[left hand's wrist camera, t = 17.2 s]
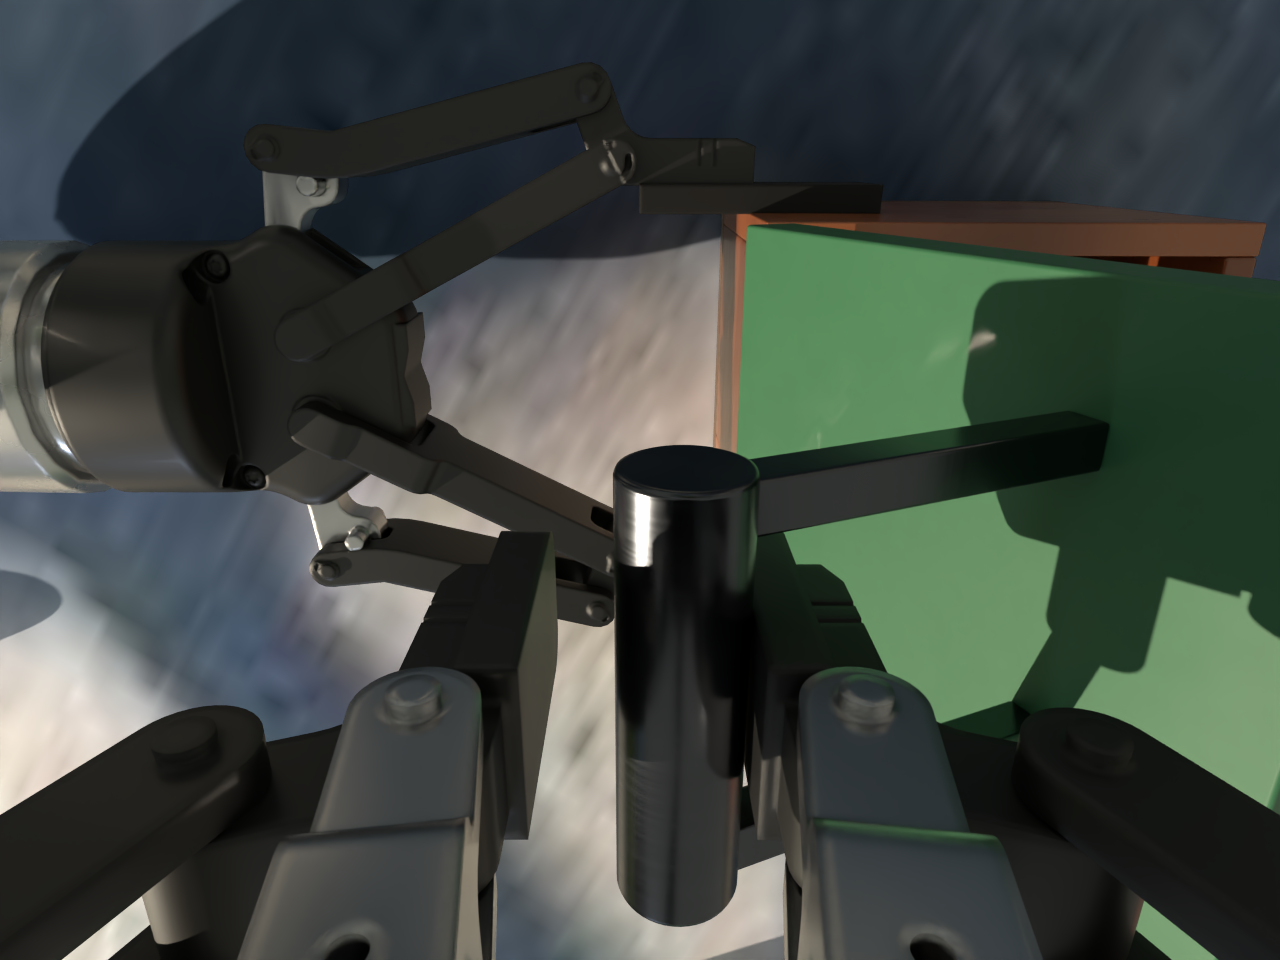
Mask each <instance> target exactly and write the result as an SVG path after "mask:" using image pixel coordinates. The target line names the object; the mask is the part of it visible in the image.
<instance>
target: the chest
mask: <svg viewBox="0 0 1280 960" xmlns="http://www.w3.org/2000/svg"><path fill="white" fill-rule="evenodd" d="M788 223H795V224H804V225H812V226H820V227H829V228H837V229H846V230H854V231H862V232H871V233H879V234H888V235H896V236H905V237H913V238H921V239H930V240H938V241H947V242H955V243H963V244H972V245H980V246H989V247H997V248H1005V249H1014V250H1022V251H1031V252H1039V253H1047V254H1056V255H1064V256H1073V257H1081V258H1089V259H1098V260H1106V261H1115V262H1123V263H1131V264H1140V265H1148V266H1157V267H1165V268H1173V269H1182V270H1190V271H1199V272H1207V273H1215V274H1224V275H1232V276H1241V277H1249V278H1252V275H1253V271H1254V268H1255V264H1256V258H1255V257H1256V256H1258V255H1259V252H1260V248H1261V244H1262V240H1263V236H1264V232H1265V229H1266V223H1261V222H1251V221H1241V220H1231V219H1221V218H1211V217H1202V216H1192V215H1182V214H1172V213H1162V212H1152V211H1142V210H1132V209H1122V208H1112V207H1102V206H1092V205H1083V204H1073V203H1064V202H1057V201H881V211H880V214H828V213H751V214H722V220H721V247H720V275H719V302H718V330H717V358H716V385H715V413H714V440H713V448H718V449H723V450H727V451H731V452H734V453H736V451H737V430H738V408H739V387H740V366H741V344H742V323H743V302H744V280H745V259H746V238H747V227H748V226H749V225H756V224H788Z"/></svg>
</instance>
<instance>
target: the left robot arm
mask: <svg viewBox="0 0 1280 960" xmlns="http://www.w3.org/2000/svg"><path fill="white" fill-rule="evenodd" d="M431 602H432V604H431V606H429V608H428V610H427V612H426V614H425V616H424V622H423V623H421V625H420V627H419V629H418V631H417V633H416V635H415V638H414V640H413V642H412V644H411V646H410V648H409V650H408V652H407V655H406V657H405V659H404V661H403V663H402V665H401V667H400V669H399V671H397V672H394V673H391V674H388V675H386V676H383V677H381V678H379V679H377V680H375V681H373V682H371V683H370V684H368V685H367V686H366V687H364V688H363V689H361V690H360V691H359V692H358V693H357V694H356V695H355V696H354V698H353V699H352V701H351V702H350V704H349V706H348V708H347V711H346V714H345V718H344V721H343V724H341V725H338V726H335V727H333V728H330V729H326V730H322V731H318V732H314V733H309V734H304V735H299V736H294V737H289V738H285V739H280V740H275V741H270V742H266V739H265V734H264V729H263V725H262V722H261V721H260V719H259V718H258V717H257V716H256V715H255V714H254V713H252V712H250V711H248V710H246V709H243V708H239V707H235V706H227V705H214V706H203V707H198V708H192V709H188V710H184V711H180V712H177V713H174V714H171V715H169V716H166V717H163V718H161V719H159V720H157V721H154V722H152V723H150V724H148V725H147V726H145V727H143V728H141V729H140V730H138V731H136V732H135V733H133V734H131V735H130V736H128V737H127V738H125V739H123V740H122V741H120V742H118V743H117V744H115V745H114V746H112V747H110V748H109V749H107V750H105V751H104V752H102V753H100V754H99V755H97V756H96V757H94V758H92V759H91V760H89V761H87V762H86V763H84V764H83V765H81V766H79V767H78V768H76V769H74V770H73V771H71V772H70V773H68V774H66V775H65V776H63V777H61V778H60V779H58V780H57V781H55V782H53V783H52V784H50V785H48V786H47V787H45V788H43V789H42V790H40V791H39V792H37V793H35V794H34V795H32V796H30V797H29V798H27V799H26V800H24V801H22V802H21V803H19V804H17V805H16V806H14V807H13V808H11V809H9V810H8V811H6V812H4V813H3V814H1V815H0V960H62V959H63V958H64V957H66V956H67V955H68V954H69V953H71V952H72V951H73V950H74V949H76V948H77V947H78V946H79V945H81V944H82V943H83V942H84V941H86V940H87V939H88V938H90V937H91V936H92V935H93V934H95V933H96V932H97V931H98V930H100V929H101V928H102V927H103V926H105V925H106V924H107V923H108V922H110V921H111V920H112V919H113V918H115V917H116V916H117V915H118V914H120V913H121V912H122V911H123V910H125V909H126V908H127V907H128V906H130V905H131V904H132V903H134V902H135V901H136V900H137V899H139V898H140V897H141V896H142V898H143V901H144V905H145V908H146V911H147V915H148V918H149V922H150V925H149V926H148V927H147V928H145V929H144V930H143V931H142V932H141V933H139V934H138V935H137V936H136V937H135V938H133V939H132V940H131V941H130V942H129V943H127V944H126V945H125V946H124V947H123V948H121V949H120V950H119V951H118V952H117V953H115V954H114V955H113V956H112V957H111V958H109V959H108V960H496V919H497V886H496V874H495V872H496V871H497V868H498V864H499V861H500V856H501V851H502V846H503V841H504V840H528V837H529V830H530V824H531V818H532V812H533V806H534V800H535V794H536V788H537V782H538V776H539V770H540V764H541V757H542V751H543V745H544V739H545V733H546V727H547V721H548V715H549V709H550V703H551V697H552V691H553V685H554V678H555V672H556V665H557V649H558V622H557V598H556V574H555V550H554V538H553V533H552V531H501V533H500V535H499V538H498V540H497V543H496V546H495V548H494V551H493V554H492V556H491V559H490V562H489V564H463V565H462V566H460V567H459V568H458V569H457V570H455V571H454V572H453V573H451V574H450V575H449V576H447V577H446V578H445V579H443V580H442V581H441V582H440V584H439V587H438V589H437V591H436V593H435V595H434V597H433V599H432V601H431ZM744 765H745V770H746V776H747V782H748V788H749V794H750V799H751V805H752V811H753V817H754V823H755V828H756V834H757V840H782V842H783V847H784V852H785V856H786V862H785V874H784V886H783V919H784V960H1172V959H1171V958H1169V957H1168V956H1167V955H1166V954H1165V953H1163V952H1162V951H1161V950H1160V949H1159V948H1157V947H1156V946H1155V945H1154V944H1153V943H1151V942H1150V941H1149V940H1148V939H1147V938H1145V937H1144V936H1143V935H1142V934H1141V933H1139V932H1138V931H1137V930H1136V927H1137V924H1138V921H1139V917H1140V914H1141V910H1142V907H1143V903H1144V901H1145V902H1147V903H1148V904H1149V905H1150V906H1152V907H1153V908H1154V909H1155V910H1157V911H1158V912H1159V913H1160V914H1162V915H1163V916H1164V917H1165V918H1167V919H1168V920H1169V921H1170V922H1172V923H1173V924H1174V925H1175V926H1177V927H1178V928H1179V929H1180V930H1182V931H1183V932H1184V933H1185V934H1187V935H1188V936H1189V937H1191V938H1192V939H1193V940H1194V941H1196V942H1197V943H1198V944H1199V945H1201V946H1202V947H1203V948H1204V949H1206V950H1207V951H1208V952H1209V953H1211V954H1212V955H1213V956H1214V957H1216V958H1217V959H1218V960H1280V815H1279V814H1277V813H1276V812H1274V811H1272V810H1271V809H1269V808H1267V807H1266V806H1264V805H1263V804H1261V803H1259V802H1258V801H1256V800H1254V799H1253V798H1251V797H1250V796H1248V795H1246V794H1245V793H1243V792H1241V791H1240V790H1238V789H1237V788H1235V787H1233V786H1232V785H1230V784H1228V783H1227V782H1225V781H1224V780H1222V779H1220V778H1219V777H1217V776H1215V775H1214V774H1212V773H1210V772H1209V771H1207V770H1206V769H1204V768H1202V767H1201V766H1199V765H1197V764H1196V763H1194V762H1193V761H1191V760H1189V759H1188V758H1186V757H1184V756H1183V755H1181V754H1180V753H1178V752H1176V751H1175V750H1173V749H1171V748H1170V747H1168V746H1167V745H1165V744H1163V743H1162V742H1160V741H1158V740H1157V739H1155V738H1153V737H1152V736H1150V735H1149V734H1147V733H1145V732H1144V731H1142V730H1140V729H1138V728H1137V727H1135V726H1133V725H1131V724H1129V723H1127V722H1124V721H1122V720H1120V719H1117V718H1115V717H1112V716H1109V715H1106V714H1103V713H1099V712H1095V711H1091V710H1085V709H1080V708H1069V707H1056V708H1049V709H1044V710H1040V711H1037V712H1035V713H1033V714H1031V715H1029V716H1028V717H1027V718H1026V719H1025V720H1024V721H1023V723H1022V725H1021V727H1020V732H1019V737H1018V742H1014V741H1009V740H1004V739H999V738H995V737H990V736H985V735H980V734H975V733H970V732H966V731H962V730H958V729H955V728H952V727H949V726H946V725H944V724H941V723H939V722H937V721H936V718H935V714H934V711H933V708H932V706H931V704H930V702H929V701H928V699H927V698H926V696H925V695H924V694H923V693H922V692H921V691H920V690H919V689H917V688H916V687H914V686H913V685H912V684H910V683H909V682H907V681H905V680H903V679H901V678H899V677H897V676H894V675H892V674H889V673H887V671H886V668H885V666H884V664H883V662H882V660H881V658H880V656H879V654H878V652H877V650H876V648H875V646H874V644H873V641H872V639H871V637H870V635H869V633H868V631H867V629H866V627H865V625H864V623H862V621H861V616H860V614H859V612H858V610H857V608H856V606H854V605H853V600H852V598H851V596H850V594H849V592H848V589H847V587H846V585H845V583H844V581H842V580H841V579H840V578H838V577H837V576H836V575H834V574H833V573H832V572H830V571H829V570H828V569H826V568H825V567H824V566H822V565H821V564H796V562H795V560H794V557H793V555H792V552H791V549H790V547H789V544H788V542H787V539H786V537H785V534H784V532H783V533H777V534H772V535H767V536H762V537H757V549H756V566H755V583H754V600H753V617H752V634H751V651H750V668H749V685H748V702H747V719H746V736H745V753H744Z"/></svg>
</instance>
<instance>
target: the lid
mask: <svg viewBox="0 0 1280 960" xmlns="http://www.w3.org/2000/svg"><path fill="white" fill-rule="evenodd" d="M613 522H614V627H615V732H616V836H617V881H618V885H619V888H620V891H621V893H622V895H623V897H624V898H625V900H626V901H627V903H628V904H629V905H630V906H631V907H632V908H633V909H634V910H635V911H636V912H637V913H638V914H640V915H641V916H643V917H645V918H646V919H648V920H650V921H653V922H655V923H658V924H662V925H667V926H675V927H684V926H692V925H697V924H700V923H703V922H706V921H708V920H710V919H712V918H713V917H715V916H717V915H718V914H719V913H720V912H721V911H722V910H723V909H724V908H725V907H726V906H727V905H728V903H729V902H730V900H731V899H732V897H733V895H734V893H735V889H736V886H737V873H738V870H739V869H742V868H744V867H747V866H750V865H753V864H755V863H758V862H761V861H764V860H766V859H769V858H772V857H775V856H777V855H780V854H783V853H785V852H784V847H783V842H782V840H757V834H756V828H755V823H754V817H753V811H752V805H751V799H750V794H749V788H748V785H747V786H744V787H743V771H744V753H745V736H746V719H747V702H748V685H749V668H750V651H751V634H752V617H753V600H754V583H755V566H756V549H757V537H762V536H767V535H772V534H777V533H783V532H784V534H785V537H786V539H787V542H788V544H789V547H790V549H791V552H792V555H793V557H794V560H795V562H796V564H821V565H822V566H824V567H825V568H826V569H828V570H829V571H830V572H832V573H833V574H834V575H836V576H837V577H838V578H840V579H841V580H842V581H844V583H845V585H846V587H847V589H848V592H849V594H850V596H851V598H852V600H853V605H854V606H856V608H857V610H858V612H859V614H860V616H861V621H862V623H864V625H865V627H866V629H867V631H868V633H869V635H870V637H871V639H872V641H873V644H874V646H875V648H876V650H877V652H878V654H879V656H880V658H881V660H882V662H883V664H884V666H885V668H886V671H887V673H889V674H892V675H894V676H897V677H899V678H901V679H903V680H905V681H907V682H909V683H910V684H912V685H913V686H914V687H916V688H917V689H919V690H920V691H921V692H922V693H923V694H924V695H925V696H926V698H927V699H928V701H929V702H930V704H931V706H932V708H933V711H934V714H935V718H936V721H937V722H939V723H941V724H944V725H946V726H949V727H952V728H955V729H958V730H962V731H966V732H970V733H975V734H980V735H985V736H990V737H995V738H999V739H1004V740H1009V741H1014V742H1018V737H1019V732H1020V727H1021V725H1022V723H1023V721H1024V720H1025V719H1026V718H1027V717H1028V716H1029V715H1031V714H1033V713H1035V712H1037V711H1040V710H1044V709H1049V708H1056V707H1069V708H1080V709H1085V710H1091V711H1095V712H1099V713H1103V714H1106V715H1109V716H1112V717H1115V718H1117V719H1120V720H1122V721H1124V722H1127V723H1129V724H1131V725H1133V726H1135V727H1137V728H1138V729H1140V730H1142V731H1144V732H1145V733H1147V734H1149V735H1150V736H1152V737H1153V738H1155V739H1157V740H1158V741H1160V742H1162V743H1163V744H1165V745H1167V746H1168V747H1170V748H1171V749H1173V750H1175V751H1176V752H1178V753H1180V754H1181V755H1183V756H1184V757H1186V758H1188V759H1189V760H1191V761H1193V762H1194V763H1196V764H1197V765H1199V766H1201V767H1202V768H1204V769H1206V770H1207V771H1209V772H1210V773H1212V774H1214V775H1215V776H1217V777H1219V778H1220V779H1222V780H1224V781H1225V782H1227V783H1228V784H1230V785H1232V786H1233V787H1235V788H1237V789H1238V790H1240V791H1241V792H1243V793H1245V794H1246V795H1248V796H1250V797H1251V798H1253V799H1254V800H1256V801H1258V802H1259V803H1261V804H1263V805H1264V806H1266V807H1267V808H1269V809H1271V810H1272V811H1274V812H1276V813H1277V814H1279V815H1280V281H1274V280H1266V279H1258V278H1249V277H1241V276H1232V275H1224V274H1215V273H1207V272H1199V271H1190V270H1182V269H1173V268H1165V267H1157V266H1148V265H1140V264H1131V263H1123V262H1115V261H1106V260H1098V259H1089V258H1081V257H1073V256H1064V255H1056V254H1047V253H1039V252H1031V251H1022V250H1014V249H1005V248H997V247H989V246H980V245H972V244H963V243H955V242H947V241H938V240H930V239H921V238H913V237H905V236H896V235H888V234H879V233H871V232H862V231H854V230H846V229H837V228H829V227H820V226H812V225H804V224H795V223H788V224H756V225H749V226H748V227H747V238H746V259H745V280H744V302H743V323H742V344H741V366H740V387H739V408H738V430H737V451H736V453H734V452H731V451H727V450H723V449H718V448H713V447H707V446H696V445H670V446H660V447H654V448H649V449H644V450H640V451H637V452H634V453H631V454H629V455H627V456H625V457H624V458H622V459H621V460H620V461H619V462H618V463H617V465H616V467H615V469H614V472H613ZM1136 930H1137V931H1138V932H1139V933H1141V934H1142V935H1143V936H1144V937H1145V938H1147V939H1148V940H1149V941H1150V942H1151V943H1153V944H1154V945H1155V946H1156V947H1157V948H1159V949H1160V950H1161V951H1162V952H1163V953H1165V954H1166V955H1167V956H1168V957H1169V958H1171V959H1172V960H1218V959H1217V958H1216V957H1214V956H1213V955H1212V954H1211V953H1209V952H1208V951H1207V950H1206V949H1204V948H1203V947H1202V946H1201V945H1199V944H1198V943H1197V942H1196V941H1194V940H1193V939H1192V938H1191V937H1189V936H1188V935H1187V934H1185V933H1184V932H1183V931H1182V930H1180V929H1179V928H1178V927H1177V926H1175V925H1174V924H1173V923H1172V922H1170V921H1169V920H1168V919H1167V918H1165V917H1164V916H1163V915H1162V914H1160V913H1159V912H1158V911H1157V910H1155V909H1154V908H1153V907H1152V906H1150V905H1149V904H1148V903H1147V902H1145V901H1144V903H1143V907H1142V910H1141V914H1140V917H1139V921H1138V924H1137V927H1136Z"/></svg>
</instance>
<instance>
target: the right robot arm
mask: <svg viewBox="0 0 1280 960" xmlns="http://www.w3.org/2000/svg"><path fill="white" fill-rule="evenodd" d="M574 123H577V124H578V127H579V130H580V133H581V135H582V138H583V141H584V144H585V146H586V149H587V150H586V151H584V152H582V153H580V154H579V155H577V156H575V157H573V158H572V159H570V160H568V161H566V162H564V163H563V164H561V165H559V166H557V167H556V168H554V169H552V170H550V171H549V172H547V173H545V174H543V175H541V176H540V177H538V178H536V179H534V180H533V181H531V182H529V183H527V184H526V185H524V186H522V187H520V188H518V189H517V190H515V191H513V192H511V193H510V194H508V195H506V196H504V197H503V198H501V199H499V200H497V201H496V202H494V203H492V204H490V205H488V206H487V207H485V208H483V209H481V210H480V211H478V212H476V213H474V214H473V215H471V216H469V217H467V218H465V219H464V220H462V221H460V222H458V223H457V224H455V225H453V226H451V227H450V228H448V229H446V230H444V231H442V232H441V233H439V234H437V235H435V236H434V237H432V238H430V239H428V240H427V241H425V242H423V243H421V244H420V245H418V246H416V247H414V248H412V249H411V250H409V251H407V252H405V253H403V254H401V255H399V256H397V257H395V258H394V259H392V260H390V261H388V262H386V263H385V264H383V265H381V266H379V267H377V268H376V269H372V268H371V267H369V266H368V265H366V264H365V263H363V262H362V261H360V260H359V259H358V258H356V257H355V256H353V255H352V254H350V253H349V252H347V251H346V250H344V249H343V248H341V247H340V246H339V245H337V244H336V243H334V242H333V241H331V240H330V239H328V238H327V237H325V236H324V235H322V234H321V233H320V232H318V231H317V230H315V229H313V228H312V220H313V217H314V215H315V213H316V212H317V211H318V210H319V209H321V208H322V207H324V206H329V205H335V204H338V203H340V202H341V201H342V200H343V199H344V198H345V197H346V194H347V192H348V178H352V177H366V176H376V175H381V174H386V173H390V172H394V171H398V170H401V169H405V168H409V167H413V166H416V165H420V164H424V163H428V162H431V161H435V160H439V159H443V158H446V157H450V156H454V155H458V154H461V153H465V152H469V151H473V150H476V149H480V148H484V147H488V146H491V145H495V144H499V143H503V142H506V141H510V140H514V139H518V138H521V137H525V136H529V135H533V134H536V133H540V132H544V131H548V130H551V129H555V128H559V127H563V126H566V125H570V124H574ZM244 150H245V154H246V156H247V158H248V159H249V161H250V163H251V164H252V165H254V166H255V167H256V168H257V169H259V170H261V171H263V191H264V211H265V226H264V227H262V228H260V229H258V230H256V231H254V232H253V233H251V234H250V235H248V236H247V237H245V238H243V239H240V240H234V241H103V242H99V243H96V244H94V245H92V246H90V245H87V244H84V243H81V242H78V241H75V240H30V241H0V492H59V493H92V492H103V491H106V490H109V489H111V488H114V489H117V490H120V491H124V492H241V491H254V490H268V491H273V492H277V493H280V494H283V495H285V496H288V497H290V498H292V499H294V500H296V501H298V502H301V503H304V504H308V508H309V511H310V515H311V519H312V522H313V526H314V530H315V534H316V537H317V541H318V545H319V552H318V553H317V554H316V555H315V557H314V558H313V559H312V561H311V563H310V573H311V575H312V577H313V579H314V580H316V581H317V582H318V583H319V584H321V585H324V586H328V587H337V586H347V585H358V584H368V583H378V582H387V583H392V584H396V585H401V586H406V587H410V588H415V589H420V590H424V591H429V592H434V593H436V591H437V589H438V587H439V584H440V582H441V581H442V580H443V579H445V578H446V577H447V576H449V575H450V574H451V573H453V572H454V571H455V570H457V569H458V568H459V567H460V566H462V565H463V564H489V562H490V559H491V556H492V554H493V551H494V548H495V546H496V543H497V540H498V538H496V537H492V536H487V535H482V534H478V533H473V532H469V531H464V530H460V529H455V528H451V527H446V526H442V525H437V524H433V523H428V522H424V521H418V520H412V519H399V518H392V519H386V517H385V515H384V512H383V510H382V509H380V508H379V507H369V506H362V505H360V504H357V503H356V502H355V501H353V500H352V499H351V497H350V496H349V494H348V492H347V491H349V490H350V489H351V488H353V487H354V486H355V485H357V484H358V483H359V482H361V481H362V480H364V479H365V478H366V477H368V476H369V475H370V474H372V475H374V476H377V477H379V478H381V479H383V480H385V481H387V482H390V483H392V484H394V485H396V486H398V487H401V488H403V489H405V490H407V491H410V492H412V493H416V494H427V493H428V494H432V495H435V496H437V497H440V498H442V499H444V500H446V501H448V502H450V503H453V504H455V505H457V506H459V507H461V508H463V509H465V510H468V511H470V512H472V513H474V514H476V515H478V516H481V517H483V518H485V519H487V520H489V521H491V522H494V523H496V524H498V525H500V526H502V527H504V528H507V529H509V530H511V531H552V533H553V538H554V550H555V574H556V598H557V619H560V620H565V621H570V622H575V623H579V624H584V625H589V626H593V627H602V626H605V625H608V624H609V623H610V622H612V621H613V619H614V522H613V508H611V507H609V506H607V505H605V504H603V503H600V502H598V501H596V500H594V499H592V498H590V497H588V496H586V495H584V494H582V493H580V492H577V491H575V490H573V489H571V488H569V487H567V486H565V485H563V484H561V483H559V482H557V481H554V480H552V479H550V478H548V477H546V476H544V475H542V474H540V473H538V472H536V471H534V470H531V469H529V468H527V467H525V466H523V465H521V464H519V463H517V462H515V461H513V460H511V459H508V458H506V457H504V456H502V455H500V454H498V453H496V452H494V451H492V450H490V449H488V448H485V447H483V446H481V445H479V444H477V443H475V442H473V441H471V440H469V439H467V438H465V437H463V436H462V435H460V434H459V432H458V431H457V429H455V428H454V427H453V426H451V425H450V424H448V423H446V422H444V421H442V420H440V419H437V418H435V417H433V416H431V415H429V414H428V413H429V411H430V410H431V409H432V408H431V397H430V386H429V383H428V381H427V378H426V375H425V372H424V370H423V367H422V364H421V356H422V351H423V345H424V340H425V331H424V321H423V312H417V310H416V308H415V306H414V304H413V302H412V301H414V300H415V299H417V298H419V297H421V296H422V295H424V294H426V293H428V292H429V291H431V290H433V289H435V288H437V287H438V286H440V285H442V284H444V283H446V282H447V281H449V280H451V279H453V278H455V277H456V276H458V275H460V274H462V273H464V272H465V271H467V270H469V269H471V268H473V267H474V266H476V265H478V264H480V263H482V262H484V261H485V260H487V259H489V258H491V257H493V256H494V255H496V254H498V253H500V252H502V251H503V250H505V249H507V248H509V247H511V246H512V245H514V244H516V243H518V242H520V241H521V240H523V239H525V238H527V237H529V236H530V235H532V234H534V233H536V232H538V231H540V230H541V229H543V228H545V227H547V226H549V225H550V224H552V223H554V222H556V221H558V220H559V219H561V218H563V217H565V216H567V215H568V214H570V213H572V212H574V211H576V210H577V209H579V208H581V207H583V206H585V205H586V204H588V203H590V202H592V201H594V200H596V199H597V198H599V197H601V196H603V195H605V194H606V193H608V192H610V191H612V190H614V189H615V188H617V187H619V186H639V214H751V213H828V214H880V211H881V201H882V191H883V185H880V184H870V183H860V182H754V161H755V146H753V145H751V144H749V143H746V142H744V141H742V140H740V139H737V138H645V137H642V136H639V135H637V134H636V133H634V132H633V131H632V130H631V129H630V128H629V127H628V126H627V124H626V123H625V121H624V118H623V116H622V113H621V110H620V107H619V104H618V101H617V98H616V96H615V93H614V90H613V87H612V84H611V81H610V79H609V77H608V74H607V72H606V71H605V70H604V69H603V68H602V67H601V66H599V65H597V64H594V63H592V62H587V63H579V64H576V65H572V66H568V67H565V68H561V69H557V70H554V71H550V72H546V73H543V74H539V75H535V76H532V77H528V78H524V79H521V80H517V81H513V82H510V83H506V84H502V85H499V86H495V87H491V88H488V89H484V90H480V91H477V92H473V93H469V94H466V95H462V96H458V97H455V98H451V99H447V100H444V101H440V102H436V103H433V104H429V105H425V106H422V107H418V108H414V109H411V110H407V111H403V112H400V113H396V114H392V115H389V116H385V117H381V118H378V119H374V120H370V121H367V122H363V123H359V124H356V125H352V126H348V127H345V128H341V129H337V130H334V131H327V130H318V129H310V128H301V127H291V126H281V125H271V124H260V125H256V126H254V127H252V128H251V129H249V131H248V132H247V134H246V136H245V139H244Z"/></svg>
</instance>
